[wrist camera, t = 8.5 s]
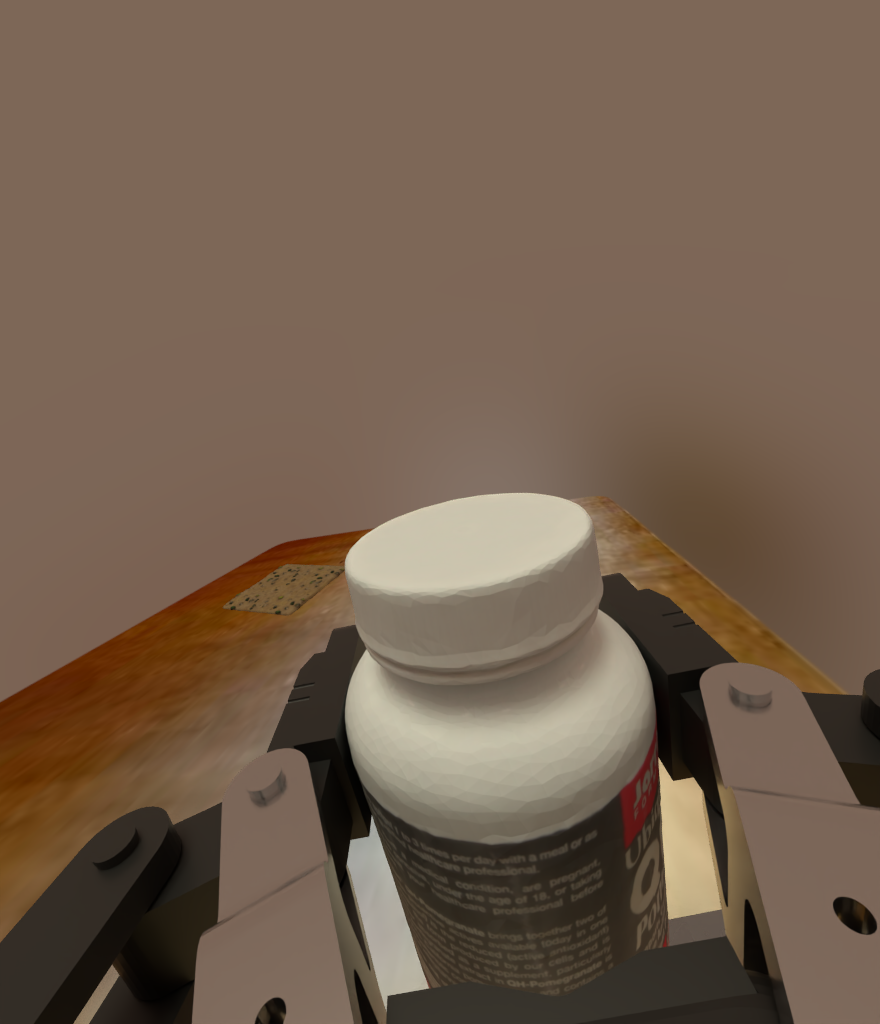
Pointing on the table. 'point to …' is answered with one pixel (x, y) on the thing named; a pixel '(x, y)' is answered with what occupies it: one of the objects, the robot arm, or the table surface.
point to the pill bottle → (506, 744)
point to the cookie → (285, 589)
